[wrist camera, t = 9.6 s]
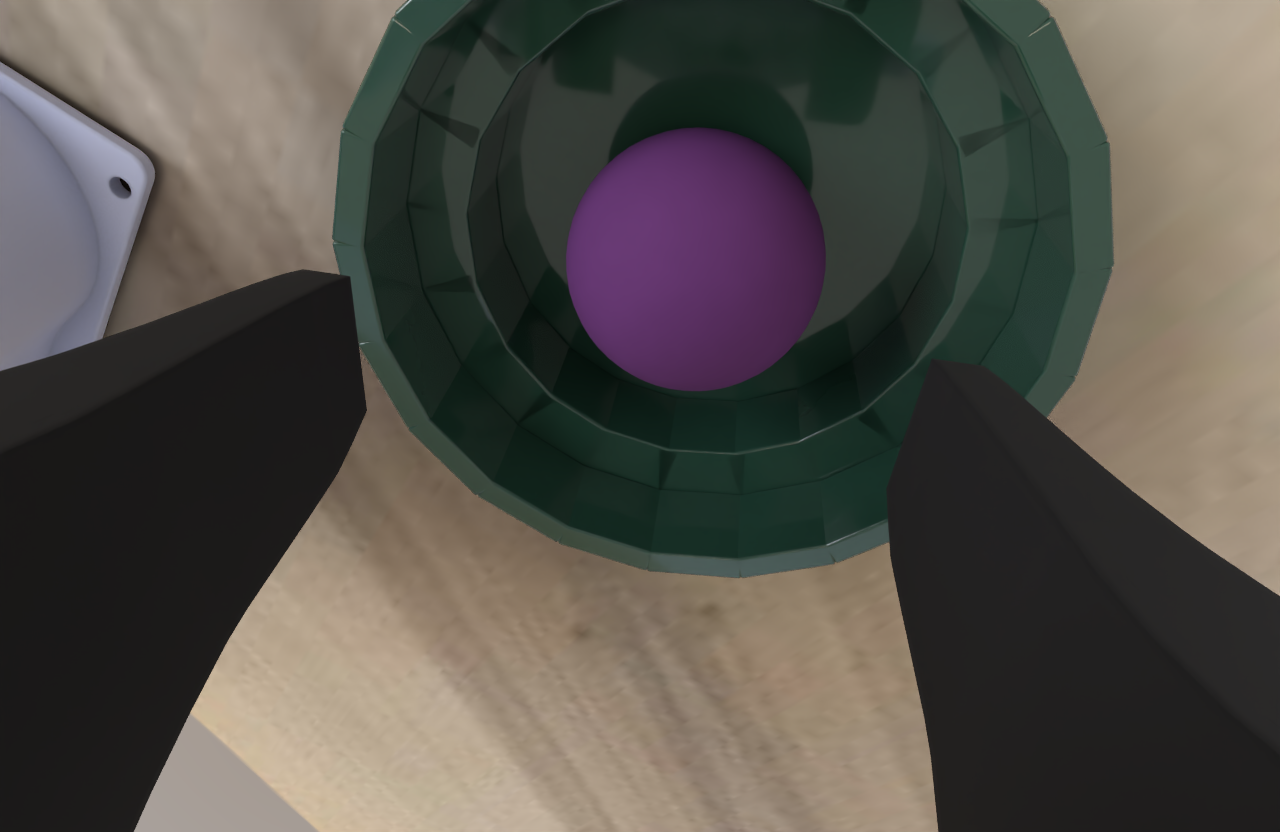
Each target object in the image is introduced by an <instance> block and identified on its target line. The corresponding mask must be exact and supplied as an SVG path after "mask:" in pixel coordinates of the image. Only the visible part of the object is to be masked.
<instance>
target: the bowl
mask: <svg viewBox="0 0 1280 832" xmlns="http://www.w3.org/2000/svg"><path fill="white" fill-rule="evenodd" d="M696 127H701V128H714V129H720V130H724V131H729V132H733V133H736V134H739V135H742V136H744V137H747V138H750V139H752V140H753V141H755V142H757V143H759V144H761V145H763V146H765V147H766V148H768V149H769V150H770V151H772V152H773V153H775V154H776V155H777V156H779V157H780V158H781V159H782V160H783V161H784V162H785V163H786V164H787V165H788V166H789V167H791V169H792V170H793V171H794V172H795V174H796V175H797V176H798V177H799V178H800V180H801V181H802V183H803V184H804V186H805V188H806V189H807V191H808V192H809V194H810V196H811V198H812V200H813V202H814V204H815V207H816V209H817V211H818V214H819V217H820V220H821V224H822V228H823V233H824V241H825V249H826V270H825V276H824V282H823V287H822V292H821V295H820V298H819V301H818V305H817V308H816V310H815V312H814V314H813V316H812V318H811V320H810V322H809V324H808V325H807V327H806V329H805V330H804V332H803V333H802V335H801V336H800V338H799V339H798V341H797V342H796V343H795V344H794V345H793V346H792V347H791V349H790V350H789V351H788V352H787V353H786V354H785V355H784V356H783V357H781V358H780V359H779V360H778V361H777V362H776V363H774V364H773V365H772V366H771V367H769V368H768V369H766V370H765V371H763V372H761V373H760V374H758V375H756V376H754V377H752V378H750V379H748V380H746V381H743V382H741V383H738V384H735V385H732V386H729V387H726V388H721V389H716V390H708V391H682V390H674V389H668V388H664V387H660V386H656V385H654V384H651V383H648V382H645V381H643V380H641V379H639V378H637V377H635V376H633V375H631V374H630V373H628V372H627V371H625V370H623V369H622V368H620V367H619V366H618V365H617V364H615V363H614V362H613V361H612V360H610V359H609V358H608V357H607V356H606V355H605V354H604V353H603V352H602V351H601V350H600V349H599V348H598V347H597V345H596V344H595V343H594V342H593V340H592V339H591V338H590V337H589V335H588V333H587V332H586V330H585V328H584V327H583V325H582V323H581V321H580V319H579V316H578V314H577V312H576V310H575V308H574V305H573V302H572V298H571V295H570V291H569V286H568V280H567V271H566V251H567V241H568V236H569V232H570V228H571V224H572V220H573V217H574V214H575V212H576V209H577V207H578V205H579V203H580V201H581V199H582V197H583V195H584V194H585V192H586V190H587V189H588V187H589V185H590V183H591V182H592V181H593V180H594V178H595V177H596V176H597V175H598V174H599V172H600V171H601V170H602V169H603V168H604V167H605V166H606V165H607V164H608V163H610V162H611V161H612V160H613V159H614V158H615V157H616V156H617V155H618V154H620V153H621V152H623V151H624V150H626V149H627V148H629V147H630V146H632V145H634V144H636V143H638V142H640V141H642V140H644V139H646V138H648V137H651V136H654V135H657V134H660V133H663V132H666V131H670V130H676V129H681V128H696ZM1107 138H1108V136H1107V133H1106V131H1105V129H1104V127H1103V125H1102V122H1101V120H1100V118H1099V116H1098V113H1097V111H1096V109H1095V107H1094V104H1093V102H1092V100H1091V98H1090V95H1089V93H1088V91H1087V89H1086V87H1085V84H1084V82H1083V80H1082V78H1081V75H1080V73H1079V71H1078V69H1077V66H1076V64H1075V62H1074V60H1073V57H1072V55H1071V53H1070V51H1069V49H1068V46H1067V44H1066V42H1065V40H1064V37H1063V35H1062V33H1061V31H1060V28H1059V26H1058V24H1057V22H1056V19H1055V18H1054V17H1052V16H1051V15H1050V11H1049V10H1048V9H1047V8H1046V7H1045V6H1044V5H1043V4H1042V3H1041V2H1040V1H1039V0H407V1H406V2H405V3H404V4H403V5H402V6H401V7H399V8H398V9H397V10H396V13H395V15H394V16H393V17H392V18H391V20H390V23H389V25H388V27H387V29H386V31H385V33H384V36H383V38H382V40H381V42H380V44H379V46H378V49H377V51H376V53H375V55H374V57H373V59H372V62H371V64H370V66H369V68H368V70H367V72H366V75H365V77H364V79H363V81H362V83H361V85H360V88H359V90H358V92H357V94H356V96H355V98H354V101H353V103H352V105H351V107H350V109H349V111H348V114H347V116H346V118H345V120H344V122H343V129H342V130H341V138H340V150H339V162H338V174H337V186H336V198H335V211H334V223H333V235H332V239H333V240H334V241H333V247H334V251H335V255H336V260H337V264H338V268H339V272H340V275H346V276H350V279H351V287H352V295H353V303H354V311H355V319H356V327H357V335H358V342H359V347H360V349H361V351H362V352H363V354H364V356H365V357H366V359H367V361H368V363H369V364H370V366H371V368H372V369H373V371H374V373H375V374H376V376H377V378H378V379H379V381H380V383H381V384H382V386H383V388H384V390H385V391H386V393H387V395H388V396H389V398H390V400H391V401H392V403H393V405H394V406H395V408H396V410H397V411H398V413H399V415H400V417H401V418H402V420H403V422H404V423H405V425H406V426H407V427H408V428H409V431H410V432H411V433H412V434H413V435H414V436H415V437H416V438H417V439H418V440H419V441H420V442H421V443H422V444H423V445H424V446H425V447H426V448H427V449H428V450H429V451H430V452H432V453H433V454H434V455H435V456H436V457H437V458H438V459H439V460H440V461H441V462H442V463H443V464H444V465H445V466H446V467H447V468H448V469H449V470H450V471H451V472H452V473H453V474H454V475H455V476H456V477H457V478H458V479H459V480H460V481H461V482H462V483H463V484H464V485H465V486H467V487H468V488H469V489H470V490H471V491H472V492H473V493H474V494H475V495H478V496H479V497H480V498H481V499H483V500H485V501H486V502H488V503H490V504H492V505H493V506H495V507H497V508H498V509H500V510H502V511H504V512H505V513H507V514H509V515H510V516H512V517H514V518H516V519H517V520H519V521H521V522H522V523H524V524H526V525H528V526H529V527H531V528H533V529H534V530H536V531H538V532H540V533H541V534H543V535H545V536H546V537H548V538H550V539H552V540H553V541H555V542H558V541H559V544H561V545H565V546H568V547H571V548H574V549H578V550H581V551H584V552H587V553H591V554H594V555H597V556H600V557H603V558H607V559H610V560H613V561H616V562H620V563H623V564H626V565H629V566H633V567H636V568H639V569H642V570H648V571H652V572H665V573H678V574H691V575H704V576H717V577H730V578H740V577H742V578H746V577H752V576H759V575H766V574H772V573H779V572H786V571H793V570H799V569H806V568H813V567H819V566H826V565H833V564H835V562H836V563H839V562H841V561H844V560H846V559H849V558H851V557H854V556H856V555H859V554H861V553H864V552H866V551H869V550H871V549H874V548H876V547H878V546H881V545H883V544H886V543H888V542H889V530H888V511H887V490H886V488H887V485H888V482H889V479H890V476H891V474H892V471H893V468H894V465H895V462H896V459H897V457H898V454H899V451H900V448H901V445H902V442H903V440H904V437H905V434H906V431H907V428H908V425H909V422H910V420H911V417H912V414H913V411H914V408H915V405H916V403H917V400H918V397H919V394H920V391H921V388H922V385H923V383H924V380H925V377H926V374H927V371H928V368H929V366H930V363H931V360H932V359H939V360H946V361H953V362H960V363H967V364H974V365H981V366H984V367H986V368H987V369H989V370H990V371H991V372H993V373H994V374H996V375H997V376H998V377H999V378H1001V379H1002V380H1003V381H1004V382H1006V383H1007V384H1008V385H1009V386H1010V387H1012V388H1013V389H1014V390H1015V391H1016V392H1018V393H1019V394H1020V395H1021V396H1022V397H1023V398H1024V399H1026V400H1027V401H1028V402H1029V403H1030V404H1031V405H1032V406H1034V407H1035V408H1036V409H1037V410H1038V411H1039V412H1040V413H1042V414H1043V415H1044V416H1045V417H1046V418H1047V417H1048V416H1049V414H1050V413H1051V412H1052V410H1053V409H1054V408H1055V406H1056V405H1057V404H1058V402H1059V401H1060V400H1061V398H1062V397H1063V396H1064V394H1065V393H1066V392H1067V390H1068V389H1069V388H1070V386H1071V385H1072V384H1073V382H1074V381H1075V376H1077V374H1078V371H1079V368H1080V365H1081V362H1082V359H1083V356H1084V354H1085V351H1086V348H1087V345H1088V342H1089V339H1090V336H1091V333H1092V330H1093V327H1094V324H1095V321H1096V318H1097V315H1098V312H1099V309H1100V306H1101V303H1102V300H1103V297H1104V294H1105V291H1106V288H1107V285H1108V282H1109V279H1110V276H1111V273H1112V267H1113V266H1114V247H1113V217H1112V187H1111V158H1110V143H1109V142H1108V141H1107Z"/></svg>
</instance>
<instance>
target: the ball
mask: <svg viewBox="0 0 1280 832" xmlns="http://www.w3.org/2000/svg"><path fill="white" fill-rule="evenodd" d="M825 270H826V249H825V241H824V233H823V228H822V224H821V220H820V217H819V214H818V211H817V209H816V207H815V204H814V202H813V200H812V198H811V196H810V194H809V192H808V191H807V189H806V188H805V186H804V184H803V183H802V181H801V180H800V178H799V177H798V176H797V175H796V174H795V172H794V171H793V170H792V169H791V167H789V166H788V165H787V164H786V163H785V162H784V161H783V160H782V159H781V158H780V157H779V156H777V155H776V154H775V153H773V152H772V151H770V150H769V149H768V148H766V147H765V146H763V145H761V144H759V143H757V142H755V141H753V140H752V139H750V138H747V137H744V136H742V135H739V134H736V133H733V132H729V131H724V130H720V129H714V128H701V127H696V128H681V129H676V130H670V131H666V132H663V133H660V134H657V135H654V136H651V137H648V138H646V139H644V140H642V141H640V142H638V143H636V144H634V145H632V146H630V147H629V148H627V149H626V150H624V151H623V152H621V153H620V154H618V155H617V156H616V157H615V158H614V159H613V160H612V161H611V162H610V163H608V164H607V165H606V166H605V167H604V168H603V169H602V170H601V171H600V172H599V174H598V175H597V176H596V177H595V178H594V180H593V181H592V182H591V183H590V185H589V187H588V189H587V190H586V192H585V194H584V195H583V197H582V199H581V201H580V203H579V205H578V207H577V209H576V212H575V214H574V217H573V220H572V224H571V228H570V232H569V236H568V241H567V251H566V271H567V280H568V286H569V291H570V295H571V298H572V302H573V305H574V308H575V310H576V312H577V314H578V316H579V319H580V321H581V323H582V325H583V327H584V328H585V330H586V332H587V333H588V335H589V337H590V338H591V339H592V340H593V342H594V343H595V344H596V345H597V347H598V348H599V349H600V350H601V351H602V352H603V353H604V354H605V355H606V356H607V357H608V358H609V359H610V360H612V361H613V362H614V363H615V364H617V365H618V366H619V367H620V368H622V369H623V370H625V371H627V372H628V373H630V374H631V375H633V376H635V377H637V378H639V379H641V380H643V381H645V382H648V383H651V384H654V385H656V386H660V387H664V388H668V389H674V390H682V391H708V390H716V389H721V388H726V387H729V386H732V385H735V384H738V383H741V382H743V381H746V380H748V379H750V378H752V377H754V376H756V375H758V374H760V373H761V372H763V371H765V370H766V369H768V368H769V367H771V366H772V365H773V364H774V363H776V362H777V361H778V360H779V359H780V358H781V357H783V356H784V355H785V354H786V353H787V352H788V351H789V350H790V349H791V347H792V346H793V345H794V344H795V343H796V342H797V341H798V339H799V338H800V336H801V335H802V333H803V332H804V330H805V329H806V327H807V325H808V324H809V322H810V320H811V318H812V316H813V314H814V312H815V310H816V308H817V305H818V301H819V298H820V295H821V292H822V287H823V282H824V276H825Z"/></svg>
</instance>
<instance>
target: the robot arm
mask: <svg viewBox="0 0 1280 832" xmlns="http://www.w3.org/2000/svg"><path fill="white" fill-rule="evenodd" d="M120 178H121V179H123V180H124V181H125V182H127V183H128V185H129V187H130V189H131V192H129V191H127V190H126V189H125V188H124V187H123V186H122V184H121V182H120ZM154 180H155V170H154V167H153V164H152V162H151V161H150V159H149V158H148V156H147V155H145V154H144V153H143V152H142V151H141V150H139V149H138V148H136V147H135V146H133V145H132V144H130V143H128V142H127V141H125V140H124V139H122V138H120V137H119V136H117V135H116V134H114V133H113V132H111V131H109V130H108V129H106V128H105V127H103V126H101V125H100V124H98V123H97V122H95V121H93V120H92V119H90V118H89V117H87V116H86V115H84V114H82V113H81V112H79V111H78V110H76V109H74V108H73V107H71V106H70V105H68V104H66V103H65V102H63V101H62V100H60V99H59V98H57V97H55V96H54V95H52V94H51V93H49V92H47V91H46V90H44V89H43V88H41V87H40V86H38V85H36V84H35V83H33V82H32V81H30V80H28V79H27V78H25V77H24V76H22V75H20V74H19V73H17V72H16V71H14V70H13V69H11V68H9V67H8V66H6V65H5V64H3V63H1V62H0V832H134V830H135V828H136V825H137V823H138V821H139V819H140V816H141V814H142V812H143V810H144V808H145V805H146V803H147V801H148V799H149V796H150V794H151V792H152V790H153V788H154V786H155V784H156V782H157V780H158V778H159V775H160V773H161V771H162V769H163V767H164V765H165V763H166V761H167V759H168V757H169V755H170V753H171V751H172V749H173V746H174V745H175V743H176V740H177V738H178V736H179V734H180V732H181V730H182V728H183V726H184V724H185V722H186V720H187V718H188V716H189V714H190V712H191V710H192V708H193V706H194V704H195V702H196V700H197V698H198V696H199V695H200V693H201V691H202V689H203V687H204V685H205V683H206V681H207V679H208V677H209V675H210V674H211V672H212V670H213V668H214V666H215V664H216V662H217V660H218V658H219V656H220V654H221V653H222V651H223V649H224V647H225V645H226V643H227V641H228V639H229V638H230V636H231V635H232V633H233V631H234V630H235V628H236V626H237V625H238V623H239V621H240V620H241V618H242V617H243V615H244V613H245V612H246V610H247V608H248V607H249V605H250V604H251V602H252V601H253V599H254V598H255V596H256V595H257V594H258V592H259V591H260V589H261V588H262V586H263V585H264V583H265V582H266V580H267V579H268V577H269V576H270V574H271V573H272V571H273V570H274V568H275V567H276V565H277V564H278V562H279V561H280V559H281V558H282V556H283V555H284V554H285V552H286V551H287V549H288V548H289V546H290V545H291V543H292V542H293V540H294V539H295V537H296V536H297V534H298V533H299V531H300V530H301V528H302V527H303V525H304V524H305V522H306V521H307V519H308V518H309V516H310V515H311V513H312V512H313V510H314V509H315V507H316V506H317V504H318V503H319V501H320V500H321V498H322V497H323V495H324V494H325V492H326V491H327V489H328V488H329V486H330V484H331V483H332V481H333V480H334V478H335V477H336V475H337V474H338V472H339V470H340V468H341V466H342V464H343V462H344V459H345V457H346V455H347V453H348V451H349V449H350V447H351V445H352V443H353V441H354V438H355V436H356V434H357V432H358V429H359V427H360V425H361V423H362V420H363V418H364V416H365V414H366V411H367V409H366V400H365V392H364V384H363V376H362V368H361V360H360V352H359V344H358V335H357V327H356V319H355V311H354V303H353V295H352V287H351V279H350V276H346V275H338V274H331V273H324V272H317V271H310V270H298V271H294V272H290V273H286V274H282V275H279V276H276V277H273V278H269V279H266V280H263V281H260V282H258V283H255V284H252V285H249V286H246V287H244V288H241V289H238V290H235V291H233V292H230V293H227V294H225V295H222V296H219V297H217V298H214V299H211V300H209V301H206V302H203V303H201V304H198V305H195V306H193V307H190V308H187V309H185V310H182V311H179V312H177V313H174V314H171V315H169V316H166V317H163V318H161V319H158V320H155V321H153V322H150V323H147V324H144V325H141V326H138V327H135V328H132V329H130V330H127V331H124V332H121V333H118V334H115V335H112V336H109V337H106V338H103V335H104V332H105V329H106V326H107V323H108V320H109V317H110V314H111V311H112V308H113V305H114V302H115V299H116V295H117V292H118V289H119V286H120V283H121V280H122V277H123V274H124V271H125V268H126V265H127V262H128V259H129V256H130V253H131V250H132V247H133V244H134V241H135V238H136V234H137V231H138V228H139V225H140V222H141V219H142V216H143V213H144V210H145V207H146V204H147V201H148V198H149V195H150V192H151V189H152V186H153V183H154ZM102 338H103V339H102ZM886 490H887V511H888V530H889V543H890V556H891V562H892V567H893V572H894V577H895V582H896V587H897V592H898V597H899V601H900V606H901V611H902V616H903V620H904V625H905V630H906V634H907V639H908V644H909V648H910V653H911V657H912V662H913V667H914V671H915V676H916V681H917V685H918V690H919V695H920V699H921V704H922V709H923V713H924V718H925V724H926V730H927V736H928V742H929V748H930V754H931V763H932V772H933V782H934V792H935V802H936V812H937V822H938V831H939V832H1280V596H1279V595H1277V594H1275V593H1274V592H1272V591H1271V590H1269V589H1268V588H1266V587H1265V586H1263V585H1262V584H1260V583H1259V582H1257V581H1256V580H1254V579H1253V578H1252V577H1250V576H1249V575H1247V574H1246V573H1244V572H1243V571H1241V570H1240V569H1238V568H1237V567H1235V566H1234V565H1232V564H1231V563H1229V562H1228V561H1226V560H1225V559H1223V558H1222V557H1220V556H1219V555H1217V554H1216V553H1214V552H1213V551H1211V550H1210V549H1208V548H1207V547H1206V546H1204V545H1203V544H1201V543H1200V542H1199V541H1197V540H1196V539H1194V538H1193V537H1192V536H1190V535H1189V534H1188V533H1186V532H1185V531H1183V530H1182V529H1181V528H1179V527H1178V526H1177V525H1176V524H1174V523H1173V522H1172V521H1170V520H1169V519H1168V518H1166V517H1165V516H1164V515H1163V514H1161V513H1160V512H1159V511H1157V510H1156V509H1155V508H1154V507H1152V506H1151V505H1150V504H1148V503H1147V502H1146V501H1145V500H1143V499H1142V498H1141V497H1139V496H1138V495H1137V494H1135V493H1134V492H1133V491H1132V490H1130V489H1129V488H1128V487H1127V486H1126V485H1124V484H1123V483H1122V482H1121V481H1119V480H1118V479H1117V478H1116V477H1115V476H1113V475H1112V474H1111V473H1110V472H1108V471H1107V470H1106V469H1105V468H1104V467H1103V466H1101V465H1100V464H1099V463H1098V462H1097V461H1095V460H1094V459H1093V458H1092V457H1091V456H1090V455H1088V454H1087V453H1086V452H1085V451H1084V450H1083V449H1081V448H1080V447H1079V446H1078V445H1077V444H1076V443H1075V442H1073V441H1072V440H1071V439H1070V438H1069V437H1068V436H1067V435H1065V434H1064V433H1063V432H1062V431H1061V430H1060V429H1059V428H1057V427H1056V426H1055V425H1054V424H1053V423H1052V422H1051V421H1049V420H1048V419H1047V418H1046V417H1045V416H1044V415H1043V414H1042V413H1040V412H1039V411H1038V410H1037V409H1036V408H1035V407H1034V406H1032V405H1031V404H1030V403H1029V402H1028V401H1027V400H1026V399H1024V398H1023V397H1022V396H1021V395H1020V394H1019V393H1018V392H1016V391H1015V390H1014V389H1013V388H1012V387H1010V386H1009V385H1008V384H1007V383H1006V382H1004V381H1003V380H1002V379H1001V378H999V377H998V376H997V375H996V374H994V373H993V372H991V371H990V370H989V369H987V368H986V367H984V366H981V365H974V364H967V363H960V362H953V361H946V360H939V359H932V360H931V363H930V366H929V368H928V371H927V374H926V377H925V380H924V383H923V385H922V388H921V391H920V394H919V397H918V400H917V403H916V405H915V408H914V411H913V414H912V417H911V420H910V422H909V425H908V428H907V431H906V434H905V437H904V440H903V442H902V445H901V448H900V451H899V454H898V457H897V459H896V462H895V465H894V468H893V471H892V474H891V476H890V479H889V482H888V485H887V488H886Z"/></svg>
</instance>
